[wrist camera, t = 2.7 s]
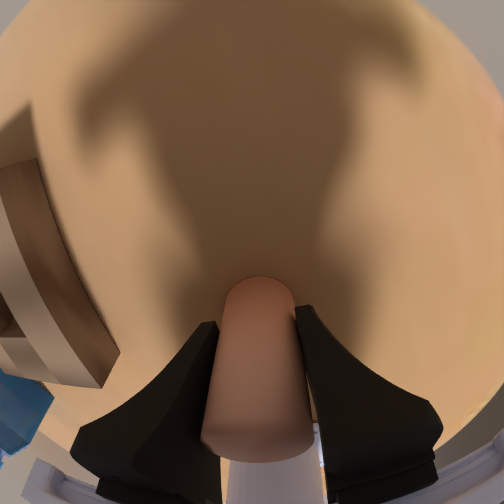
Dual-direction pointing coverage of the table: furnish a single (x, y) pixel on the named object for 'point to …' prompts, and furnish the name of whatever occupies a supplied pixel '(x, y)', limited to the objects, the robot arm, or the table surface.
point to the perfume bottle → (20, 412)
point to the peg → (258, 378)
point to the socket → (44, 293)
